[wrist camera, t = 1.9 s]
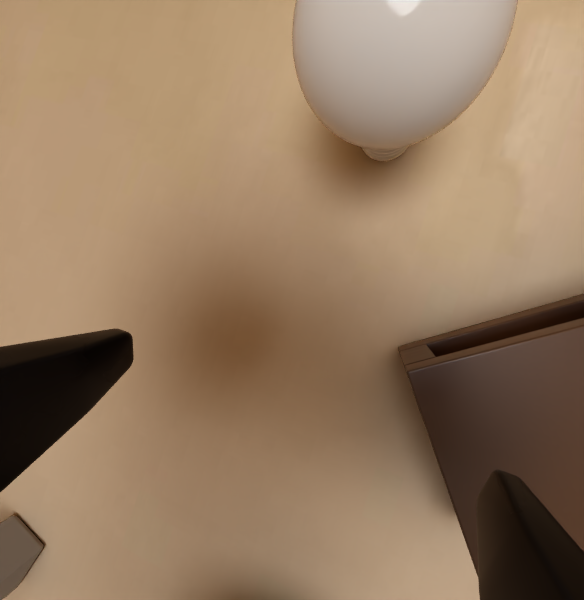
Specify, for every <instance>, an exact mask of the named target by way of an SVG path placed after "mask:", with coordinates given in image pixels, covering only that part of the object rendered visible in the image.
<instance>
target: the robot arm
mask: <svg viewBox="0 0 584 600" xmlns="http://www.w3.org/2000/svg"><path fill="white" fill-rule="evenodd" d="M132 362H133V339H132V336H131V334H130V333H128V332H126V331H123V330H120V329H109V330H103V331H97V332H91V333H85V334H78V335H72V336H66V337H60V338H53V339H47V340H41V341H35V342H28V343H22V344H16V345H10V346H3V347H0V492H1V491H2V490H4V489H5V488H6V487H7V486H8V485H9V484H10V483H11V482H12V481H13V480H15V479H16V478H17V477H18V476H19V475H20V474H21V473H22V472H23V471H24V470H25V469H27V468H28V467H29V466H30V465H31V464H32V463H33V462H34V461H35V460H36V459H38V458H39V457H40V456H41V455H42V454H43V453H44V452H45V451H46V450H47V449H49V448H50V447H51V446H52V445H53V444H54V443H55V442H56V441H57V440H58V439H59V438H61V437H62V436H63V435H64V434H65V433H66V432H67V431H68V430H69V429H70V428H72V427H73V426H74V425H75V424H76V423H77V422H78V421H79V420H80V419H81V418H82V417H84V416H85V415H86V414H87V413H88V412H89V411H90V410H91V409H92V408H93V407H94V406H95V405H96V403H97V402H98V401H99V400H100V399H101V398H102V397H103V396H104V395H105V394H106V393H107V392H108V390H109V389H110V388H111V387H112V386H113V385H114V384H115V383H116V382H117V381H118V380H119V379H120V377H121V376H122V375H123V374H124V373H125V372H126V371H127V370H128V369H129V368H130V366H131V365H132ZM476 513H477V546H478V578H479V593H480V600H584V551H583V550H582V549H581V548H580V547H579V545H578V544H577V543H576V542H575V541H574V540H573V539H572V537H571V536H570V535H569V534H568V533H567V532H566V530H565V529H564V528H563V527H562V526H561V525H560V523H559V522H558V521H557V520H556V519H555V518H554V516H553V515H552V514H551V513H550V512H549V511H548V509H547V508H546V507H545V506H544V505H543V504H542V502H541V501H540V500H539V499H538V498H537V497H536V495H535V494H534V493H533V492H532V491H531V490H530V488H529V487H528V486H527V485H526V484H525V483H524V481H523V480H522V479H521V478H519V477H518V476H516V475H513V474H510V473H508V472H505V471H502V470H495V471H493V472H492V473H491V475H490V477H489V478H488V480H487V482H486V483H485V485H484V487H483V488H482V490H481V492H480V493H479V495H478V498H477V504H476Z"/></svg>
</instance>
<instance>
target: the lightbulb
mask: <svg viewBox="0 0 584 600" xmlns="http://www.w3.org/2000/svg"><path fill="white" fill-rule="evenodd" d="M517 3H518V0H296V3H295V9H294V16H293V28H292V46H293V58H294V64H295V69H296V74H297V78H298V81H299V84H300V87H301V90H302V92H303V94H304V97H305V99H306V101H307V103H308V104H309V106H310V108H311V109H312V111H313V112H314V114H315V115H316V117H317V118H318V119H319V120H320V121H321V123H322V124H323V125H324V126H325V127H326V128H328V129H329V130H330V131H331V132H332V133H333V134H335V135H336V136H338V137H339V138H341V139H343V140H344V141H347V142H349V143H351V144H353V145H356V146H359V147H362V149H363V151H364V152H365V153H366V154H367V155H368V156H369V157H370V158H372V159H374V160H377V161H389V160H393V159H395V158H397V157H399V156H400V155H401V154H403V153H404V152H405V151H406V149H407V148H408V146H410V145H413V144H416V143H418V142H421V141H423V140H425V139H427V138H429V137H431V136H433V135H435V134H436V133H438V132H439V131H441V130H443V129H444V128H445V127H447V126H448V125H449V124H451V123H452V122H453V121H454V120H456V119H457V118H458V117H459V116H460V115H461V114H462V113H463V112H464V111H465V110H466V109H467V108H468V107H469V106H470V105H471V104H472V103H473V101H474V100H475V99H476V98H477V97H478V95H479V94H480V93H481V91H482V90H483V89H484V87H485V86H486V84H487V83H488V81H489V80H490V78H491V76H492V75H493V73H494V71H495V69H496V67H497V65H498V63H499V61H500V59H501V57H502V55H503V53H504V50H505V48H506V45H507V42H508V40H509V37H510V33H511V30H512V27H513V23H514V18H515V14H516V9H517Z"/></svg>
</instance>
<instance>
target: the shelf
mask: <svg viewBox="0 0 584 600" xmlns="http://www.w3.org/2000/svg"><path fill="white" fill-rule="evenodd" d="M398 349H399V352H400V355H401V358H402V361H403V364H404V367H405V370H406V373H407V375H408V378H409V381H410V384H411V387H412V390H413V393H414V395H415V398H416V401H417V404H418V407H419V410H420V413H421V415H422V418H423V421H424V424H425V427H426V430H427V433H428V435H429V438H430V441H431V444H432V447H433V450H434V453H435V455H436V458H437V461H438V464H439V467H440V470H441V473H442V475H443V478H444V481H445V484H446V487H447V490H448V493H449V495H450V498H451V501H452V504H453V507H454V510H455V513H456V515H457V518H458V521H459V524H460V527H461V530H462V533H463V535H464V538H465V541H466V544H467V547H468V550H469V553H470V556H471V558H472V561H473V564H474V567H475V570H476V573H477V576H478V546H477V513H476V504H477V498H478V495H479V493H480V492H481V490H482V488H483V487H484V485H485V483H486V482H487V480H488V478H489V477H490V475H491V473H492V472H493V471H495V470H502V471H505V472H508V473H510V474H513V475H516V476H518V477H519V478H521V479H522V480H523V481H524V483H525V484H526V485H527V486H528V487H529V488H530V490H531V491H532V492H533V493H534V494H535V495H536V497H537V498H538V499H539V500H540V501H541V502H542V504H543V505H544V506H545V507H546V508H547V509H548V511H549V512H550V513H551V514H552V515H553V516H554V518H555V519H556V520H557V521H558V522H559V523H560V525H561V526H562V527H563V528H564V529H565V530H566V532H567V533H568V534H569V535H570V536H571V537H572V539H573V540H574V541H575V542H576V543H577V544H578V545H579V547H580V548H581V549H582V550H583V551H584V294H582V295H579V296H575V297H572V298H568V299H565V300H561V301H558V302H554V303H551V304H547V305H544V306H540V307H537V308H533V309H530V310H526V311H522V312H519V313H515V314H512V315H508V316H505V317H501V318H498V319H494V320H491V321H487V322H484V323H480V324H477V325H473V326H470V327H466V328H462V329H459V330H455V331H452V332H448V333H445V334H441V335H438V336H434V337H431V338H427V339H424V340H420V341H417V342H413V343H410V344H406V345H402V346H399V347H398Z"/></svg>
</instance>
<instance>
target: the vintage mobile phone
mask: <svg viewBox="0 0 584 600" xmlns="http://www.w3.org/2000/svg"><path fill="white" fill-rule="evenodd" d="M42 548H43V544H42V543H41V542H40V541H39V539H38V538H37V537H36V536H35V535H34V534H33V533H32V532H31V531H30V530H29V529H28V527H27V526H26V525H25V524H24V523H23V522H22V521H21V520H20V519H19V518H18V517H17V516H11V517H9V518H8V519H6V520H5V521H3V522H2V523H0V600H2V599H3V598H5V597H6V596H7V595H8V594H10V593H11V592H12V591H13V590H14V589H15V588H17V587H18V585H19V584H20V582H21V581H22V579H23V578H24V576H25V575H26V573H27V572H28V570H29V568H30V567H31V565H32V564H33V562H34V561H35V559H36V558H37V556H38V555H39V553H40V552H41V550H42Z"/></svg>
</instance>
